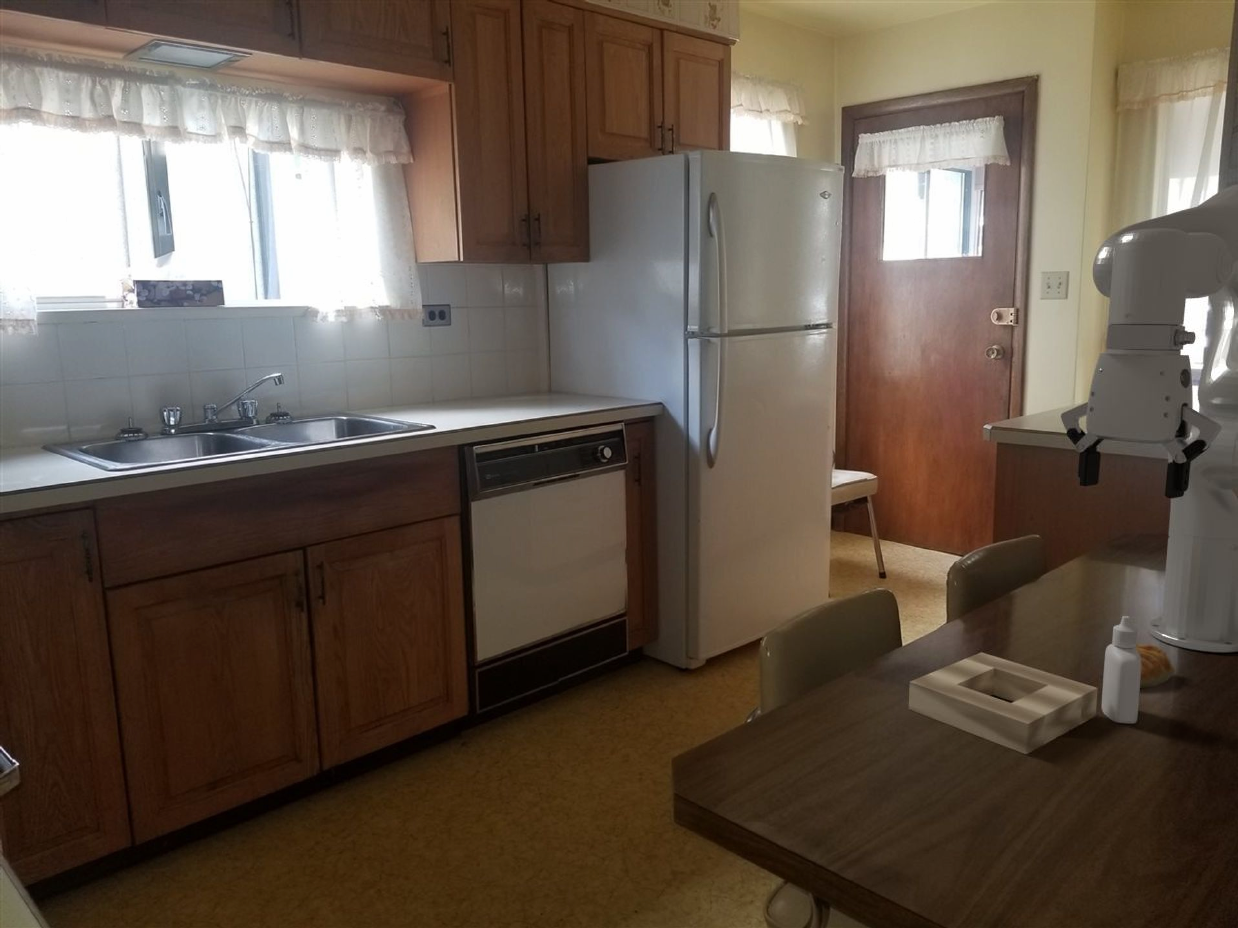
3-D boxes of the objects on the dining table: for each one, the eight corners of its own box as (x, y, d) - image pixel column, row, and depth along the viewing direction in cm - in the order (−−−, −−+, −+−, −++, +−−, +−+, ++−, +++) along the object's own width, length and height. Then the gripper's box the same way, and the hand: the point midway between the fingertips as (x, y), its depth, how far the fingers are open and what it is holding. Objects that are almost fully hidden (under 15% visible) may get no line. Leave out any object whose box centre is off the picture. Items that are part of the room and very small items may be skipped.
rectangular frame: (980, 677, 124) (981, 652, 123) (1095, 716, 112) (1097, 687, 112) (908, 709, 115) (909, 681, 114) (1026, 754, 103) (1027, 723, 103)
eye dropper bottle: (1145, 711, 113) (1152, 614, 111) (1133, 728, 109) (1141, 627, 107) (1105, 702, 116) (1111, 607, 114) (1092, 717, 112) (1098, 619, 110)
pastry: (1146, 698, 117) (1148, 668, 117) (1090, 682, 123) (1092, 654, 122) (1177, 677, 123) (1179, 649, 123) (1122, 663, 128) (1124, 636, 128)
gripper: (1242, 343, 104) (1226, 499, 106) (1085, 340, 117) (1074, 478, 120) (1212, 343, 99) (1196, 505, 101) (1052, 340, 113) (1041, 483, 115)
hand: (1130, 490), depth 111 cm, fingers open, 9 cm apart
